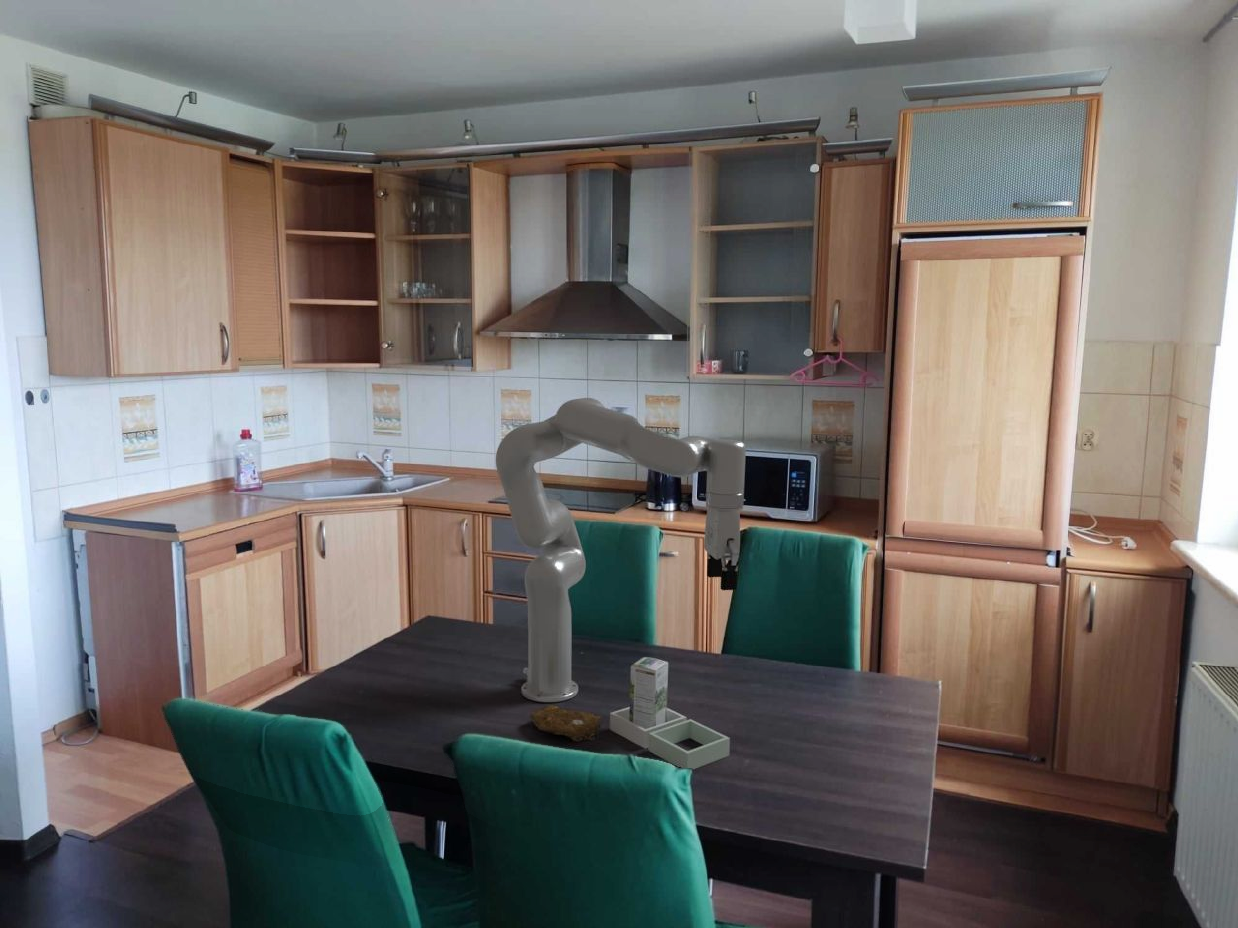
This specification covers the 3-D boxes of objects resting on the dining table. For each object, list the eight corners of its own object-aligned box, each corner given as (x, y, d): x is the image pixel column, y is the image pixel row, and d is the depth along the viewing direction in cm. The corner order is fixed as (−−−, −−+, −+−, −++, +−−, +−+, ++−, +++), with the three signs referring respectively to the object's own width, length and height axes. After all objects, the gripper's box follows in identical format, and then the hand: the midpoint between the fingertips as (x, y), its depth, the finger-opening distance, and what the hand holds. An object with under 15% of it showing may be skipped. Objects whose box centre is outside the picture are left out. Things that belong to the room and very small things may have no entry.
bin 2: (648, 750, 176) (648, 733, 176) (690, 735, 183) (690, 719, 182) (687, 771, 168) (687, 753, 167) (729, 755, 174) (729, 737, 174)
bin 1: (609, 729, 185) (610, 712, 185) (650, 716, 192) (651, 700, 192) (644, 748, 177) (645, 731, 176) (686, 733, 184) (686, 717, 183)
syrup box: (641, 723, 188) (642, 655, 186) (667, 729, 186) (668, 660, 184) (628, 733, 183) (629, 664, 181) (654, 740, 181) (656, 669, 179)
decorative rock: (517, 738, 182) (588, 752, 178) (517, 719, 181) (588, 733, 177) (539, 713, 193) (607, 726, 188) (540, 695, 192) (607, 707, 187)
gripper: (695, 493, 193) (692, 572, 196) (719, 509, 176) (715, 595, 179) (729, 493, 195) (726, 571, 197) (756, 508, 178) (752, 594, 180)
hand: (721, 583), depth 188 cm, fingers open, 9 cm apart
